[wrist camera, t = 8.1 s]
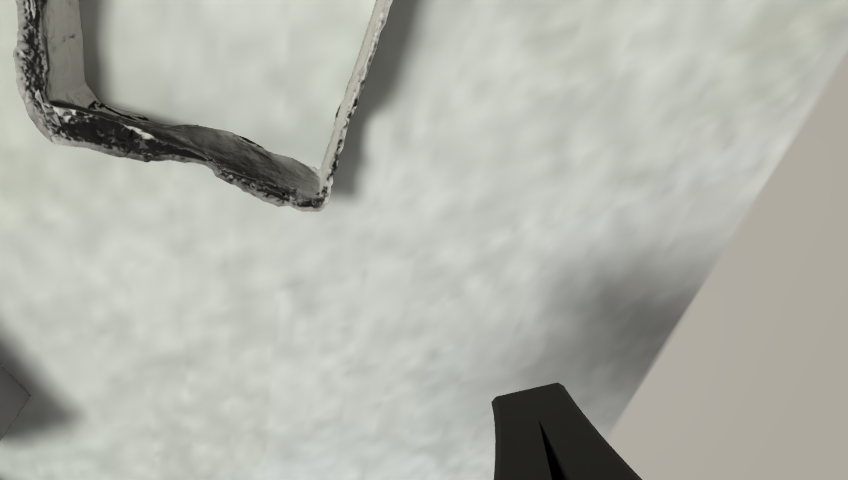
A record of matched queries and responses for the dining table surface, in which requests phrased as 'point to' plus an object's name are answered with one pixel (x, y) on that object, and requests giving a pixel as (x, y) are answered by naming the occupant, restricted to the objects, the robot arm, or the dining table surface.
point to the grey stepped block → (10, 399)
